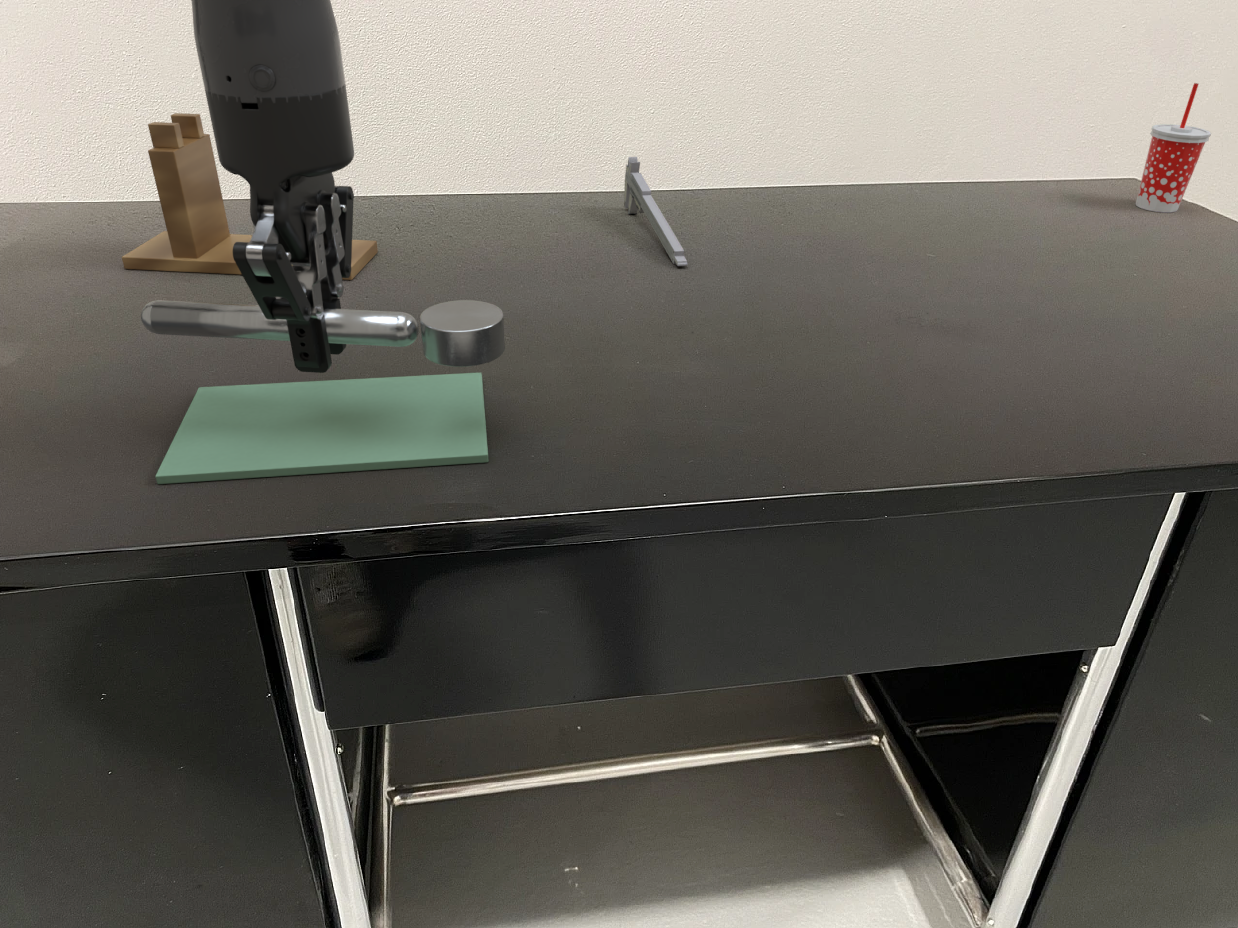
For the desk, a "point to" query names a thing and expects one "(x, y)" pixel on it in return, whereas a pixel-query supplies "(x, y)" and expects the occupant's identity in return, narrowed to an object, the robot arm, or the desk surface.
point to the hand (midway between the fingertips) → (321, 359)
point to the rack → (197, 207)
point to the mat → (328, 428)
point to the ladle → (349, 327)
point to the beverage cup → (1170, 163)
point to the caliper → (650, 211)
